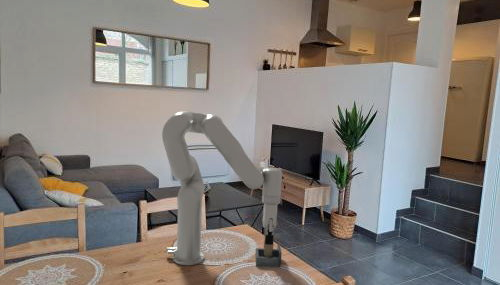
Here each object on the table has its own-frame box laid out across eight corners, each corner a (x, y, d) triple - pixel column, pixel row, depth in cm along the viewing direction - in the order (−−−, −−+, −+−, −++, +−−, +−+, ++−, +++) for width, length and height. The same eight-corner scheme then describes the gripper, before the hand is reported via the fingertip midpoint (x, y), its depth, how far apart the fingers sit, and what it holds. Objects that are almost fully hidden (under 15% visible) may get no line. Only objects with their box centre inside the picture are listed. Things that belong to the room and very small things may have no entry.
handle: (275, 259, 143) (278, 223, 141) (260, 258, 143) (262, 222, 142) (275, 254, 148) (277, 219, 146) (260, 253, 148) (262, 218, 146)
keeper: (255, 265, 142) (256, 251, 141) (255, 256, 150) (256, 242, 150) (280, 267, 142) (281, 252, 141) (278, 257, 151) (279, 243, 150)
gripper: (261, 192, 151) (259, 233, 153) (262, 204, 135) (260, 250, 137) (278, 193, 151) (276, 234, 153) (282, 204, 135) (279, 251, 137)
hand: (268, 241), depth 145 cm, fingers closed on handle, 3 cm apart
